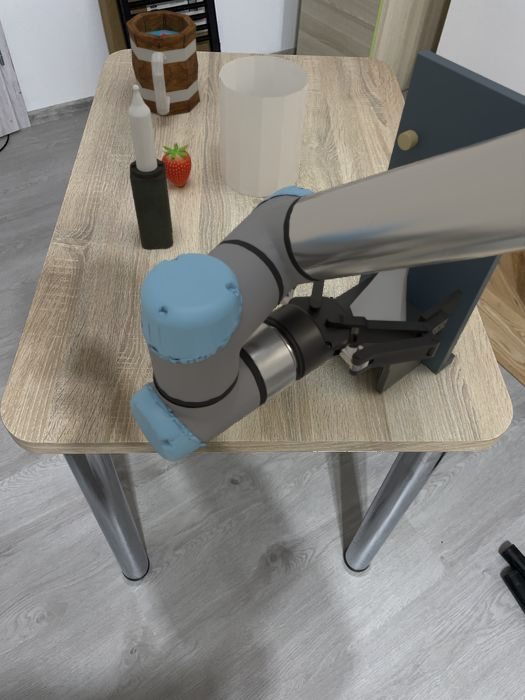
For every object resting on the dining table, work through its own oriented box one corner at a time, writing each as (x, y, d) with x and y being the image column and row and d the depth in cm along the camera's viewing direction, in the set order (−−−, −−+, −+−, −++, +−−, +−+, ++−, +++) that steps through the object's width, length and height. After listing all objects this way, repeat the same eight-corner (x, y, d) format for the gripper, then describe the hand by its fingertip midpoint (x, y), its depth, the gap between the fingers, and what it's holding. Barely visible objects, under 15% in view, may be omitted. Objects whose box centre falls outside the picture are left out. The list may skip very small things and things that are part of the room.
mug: (140, 84, 120) (130, 8, 108) (201, 85, 120) (198, 11, 109) (129, 131, 108) (117, 52, 96) (197, 132, 108) (193, 54, 97)
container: (297, 154, 105) (308, 58, 91) (298, 199, 96) (310, 100, 82) (223, 150, 105) (222, 53, 91) (217, 195, 96) (215, 95, 82)
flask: (346, 324, 65) (372, 253, 58) (351, 292, 70) (375, 224, 64) (405, 340, 65) (437, 270, 58) (405, 307, 70) (434, 240, 64)
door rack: (387, 413, 69) (493, 163, 41) (303, 337, 76) (344, 80, 48) (452, 362, 75) (585, 111, 46) (368, 295, 82) (439, 44, 54)
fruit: (181, 197, 95) (177, 156, 89) (158, 187, 97) (152, 146, 90) (199, 182, 98) (196, 141, 92) (176, 172, 100) (172, 132, 93)
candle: (173, 248, 87) (156, 94, 67) (141, 249, 86) (114, 95, 67) (172, 227, 90) (155, 75, 70) (141, 229, 89) (115, 75, 70)
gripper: (206, 305, 64) (333, 236, 73) (356, 454, 53) (485, 350, 61) (203, 258, 58) (342, 188, 67) (371, 414, 47) (512, 305, 56)
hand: (411, 265), depth 64 cm, fingers open, 13 cm apart
